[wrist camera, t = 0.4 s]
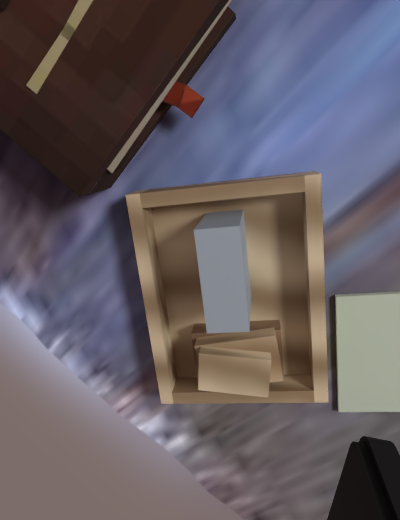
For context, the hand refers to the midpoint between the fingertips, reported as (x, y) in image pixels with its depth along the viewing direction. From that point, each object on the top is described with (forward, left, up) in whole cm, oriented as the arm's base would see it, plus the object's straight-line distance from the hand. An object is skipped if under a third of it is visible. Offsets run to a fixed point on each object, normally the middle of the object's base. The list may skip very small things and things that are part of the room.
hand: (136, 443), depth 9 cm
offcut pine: (-12, 0, -22) cm, 25 cm away
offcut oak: (-12, 0, -24) cm, 27 cm away
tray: (-7, 0, -26) cm, 27 cm away
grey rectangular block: (-3, 0, -26) cm, 26 cm away
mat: (-14, -13, -26) cm, 32 cm away
